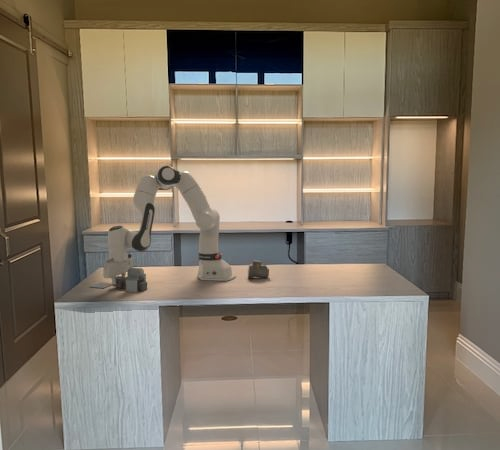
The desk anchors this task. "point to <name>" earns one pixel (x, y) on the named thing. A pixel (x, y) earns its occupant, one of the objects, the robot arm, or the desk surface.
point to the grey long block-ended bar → (122, 283)
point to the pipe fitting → (258, 270)
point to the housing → (134, 278)
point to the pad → (102, 285)
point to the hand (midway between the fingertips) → (118, 282)
